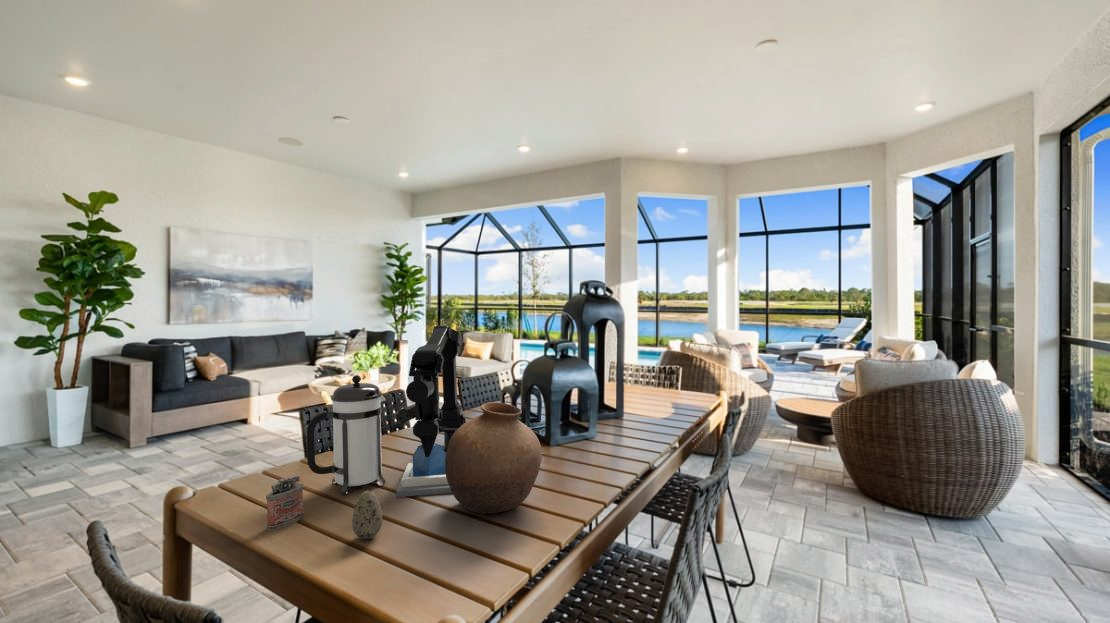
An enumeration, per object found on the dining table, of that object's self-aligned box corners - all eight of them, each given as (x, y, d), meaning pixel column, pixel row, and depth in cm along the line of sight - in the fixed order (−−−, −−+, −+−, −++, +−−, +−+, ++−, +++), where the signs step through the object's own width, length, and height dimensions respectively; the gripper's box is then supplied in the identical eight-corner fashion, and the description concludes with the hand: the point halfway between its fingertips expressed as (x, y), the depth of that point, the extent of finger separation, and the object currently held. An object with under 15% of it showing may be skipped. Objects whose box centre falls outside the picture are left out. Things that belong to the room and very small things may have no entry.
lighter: (271, 531, 105) (270, 486, 105) (263, 528, 107) (262, 483, 107) (307, 517, 112) (306, 474, 112) (299, 514, 114) (298, 472, 114)
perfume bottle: (445, 474, 134) (445, 432, 134) (429, 482, 129) (428, 437, 129) (430, 470, 138) (429, 429, 137) (413, 477, 132) (412, 434, 132)
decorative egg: (361, 530, 105) (360, 485, 105) (387, 531, 105) (386, 486, 104) (346, 544, 99) (345, 496, 99) (374, 545, 99) (373, 497, 98)
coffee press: (347, 472, 141) (345, 370, 140) (397, 476, 138) (395, 371, 137) (305, 496, 124) (303, 380, 123) (361, 501, 121) (359, 381, 120)
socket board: (406, 472, 141) (405, 460, 141) (458, 468, 143) (458, 457, 143) (396, 497, 123) (395, 483, 123) (456, 492, 126) (455, 479, 125)
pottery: (437, 498, 122) (436, 400, 122) (523, 483, 131) (522, 392, 131) (456, 538, 101) (454, 420, 101) (557, 517, 110) (556, 409, 110)
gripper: (402, 390, 141) (403, 443, 141) (391, 403, 122) (393, 464, 123) (441, 388, 142) (442, 441, 143) (436, 401, 124) (438, 461, 124)
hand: (429, 451), depth 133 cm, fingers open, 9 cm apart
